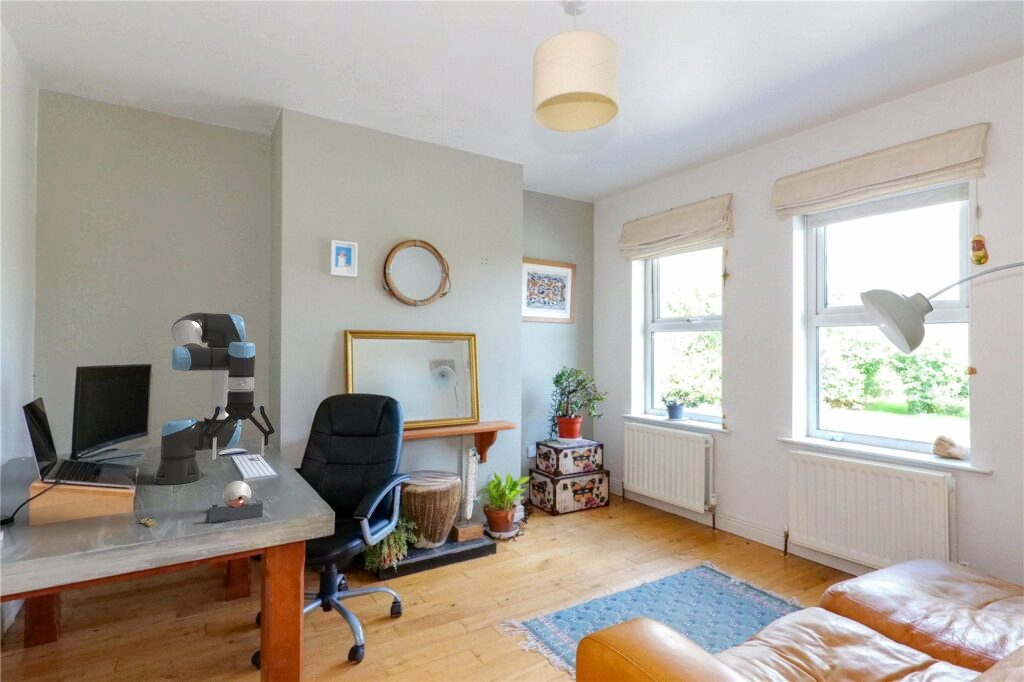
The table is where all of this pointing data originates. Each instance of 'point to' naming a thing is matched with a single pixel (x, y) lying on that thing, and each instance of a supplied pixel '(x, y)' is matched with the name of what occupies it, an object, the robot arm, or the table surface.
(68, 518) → the table surface
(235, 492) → the spotlight
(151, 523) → the brass key
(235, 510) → the channel
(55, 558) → the table surface
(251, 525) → the table surface
